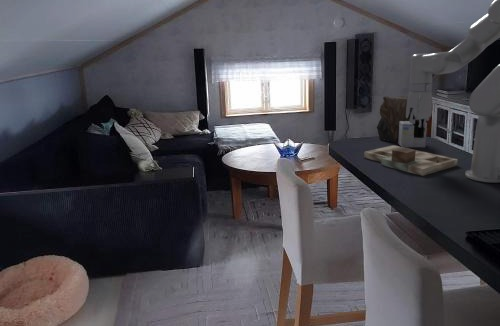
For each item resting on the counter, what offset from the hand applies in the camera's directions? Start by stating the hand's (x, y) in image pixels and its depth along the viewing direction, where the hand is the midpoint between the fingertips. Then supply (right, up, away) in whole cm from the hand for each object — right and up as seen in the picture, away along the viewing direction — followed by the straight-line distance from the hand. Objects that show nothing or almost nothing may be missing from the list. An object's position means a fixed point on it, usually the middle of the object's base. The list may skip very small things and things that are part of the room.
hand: (418, 137), depth 165 cm
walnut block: (-7, -9, -2) cm, 11 cm away
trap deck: (-3, -9, +5) cm, 11 cm away
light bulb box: (+8, -2, +31) cm, 32 cm away
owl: (+4, +1, +43) cm, 43 cm away
